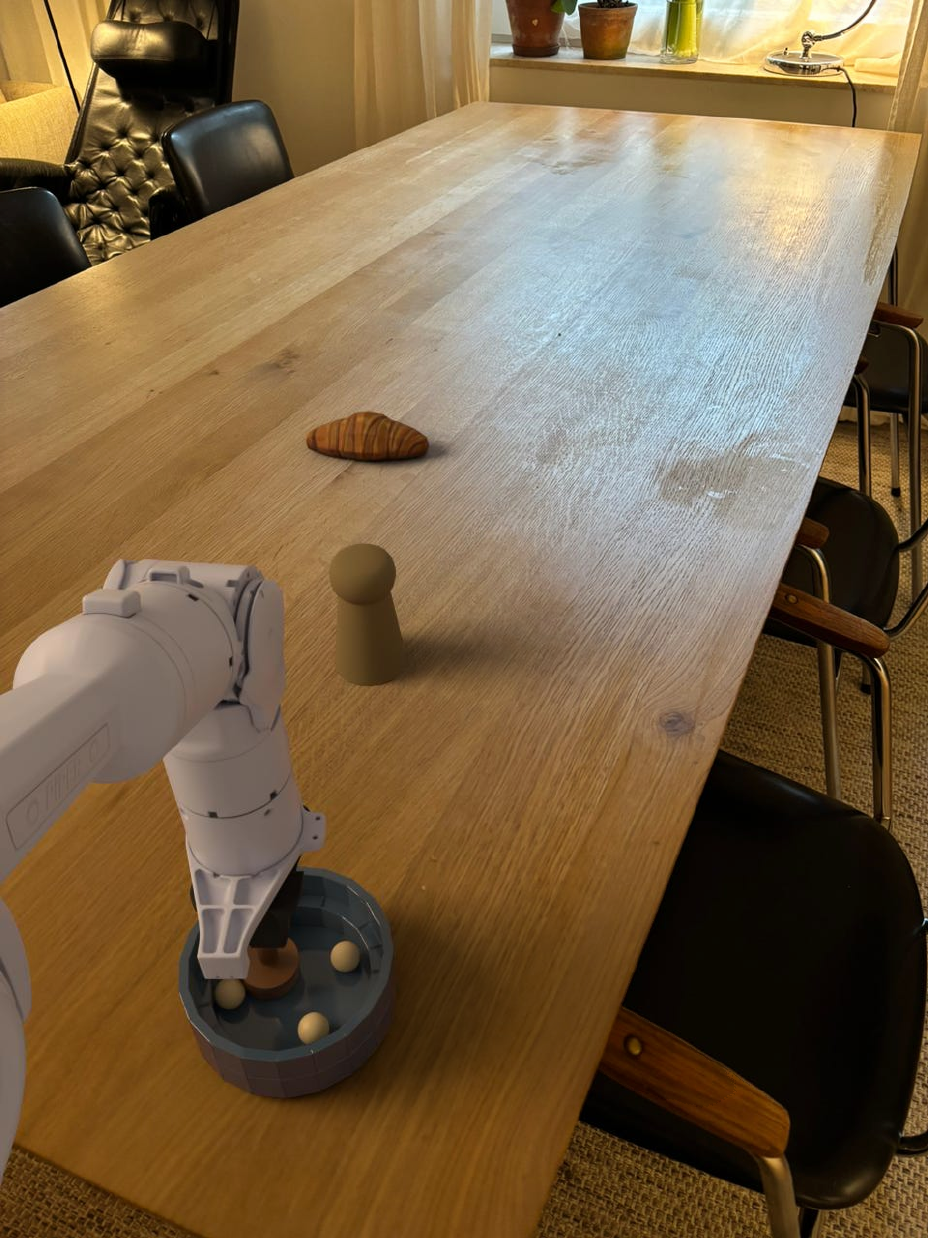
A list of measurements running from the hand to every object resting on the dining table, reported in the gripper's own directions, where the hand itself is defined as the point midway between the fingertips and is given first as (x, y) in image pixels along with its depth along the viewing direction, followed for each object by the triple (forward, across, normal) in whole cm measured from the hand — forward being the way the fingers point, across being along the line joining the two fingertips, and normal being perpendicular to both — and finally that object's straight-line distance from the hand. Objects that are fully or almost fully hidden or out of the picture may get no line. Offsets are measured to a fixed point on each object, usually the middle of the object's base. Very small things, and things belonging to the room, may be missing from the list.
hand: (271, 927), depth 57 cm
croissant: (+7, +62, 0) cm, 63 cm away
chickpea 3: (+5, +1, -4) cm, 6 cm away
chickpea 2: (+5, -3, -2) cm, 7 cm away
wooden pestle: (+6, 0, +1) cm, 6 cm away
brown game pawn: (+7, +29, -3) cm, 30 cm away
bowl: (+7, -1, -1) cm, 7 cm away
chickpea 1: (+5, -1, +3) cm, 6 cm away
